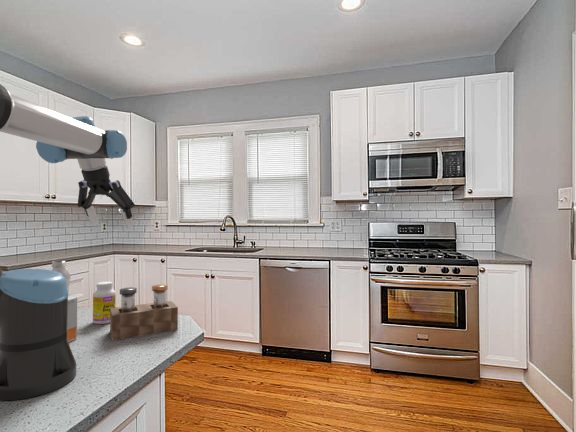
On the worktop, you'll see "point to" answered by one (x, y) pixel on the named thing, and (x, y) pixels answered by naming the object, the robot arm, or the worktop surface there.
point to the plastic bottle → (61, 270)
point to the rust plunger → (159, 295)
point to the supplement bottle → (103, 302)
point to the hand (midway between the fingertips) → (112, 225)
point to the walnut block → (143, 320)
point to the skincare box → (72, 319)
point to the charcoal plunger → (128, 299)
